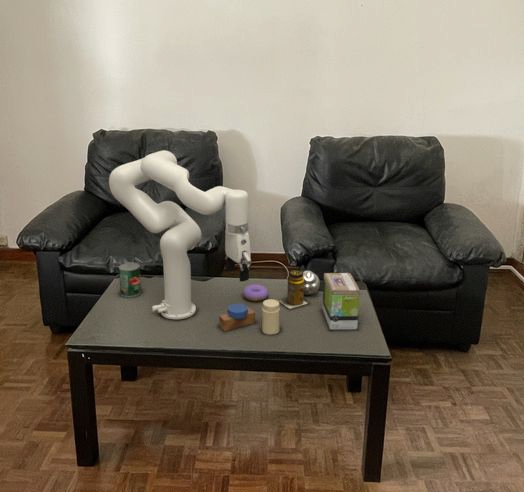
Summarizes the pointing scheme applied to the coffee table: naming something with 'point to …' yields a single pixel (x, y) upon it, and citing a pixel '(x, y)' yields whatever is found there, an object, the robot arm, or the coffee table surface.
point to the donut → (255, 292)
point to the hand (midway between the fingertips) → (237, 275)
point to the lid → (237, 311)
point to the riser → (236, 321)
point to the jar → (270, 317)
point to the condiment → (295, 290)
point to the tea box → (340, 301)
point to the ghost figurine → (310, 283)
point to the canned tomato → (130, 279)
